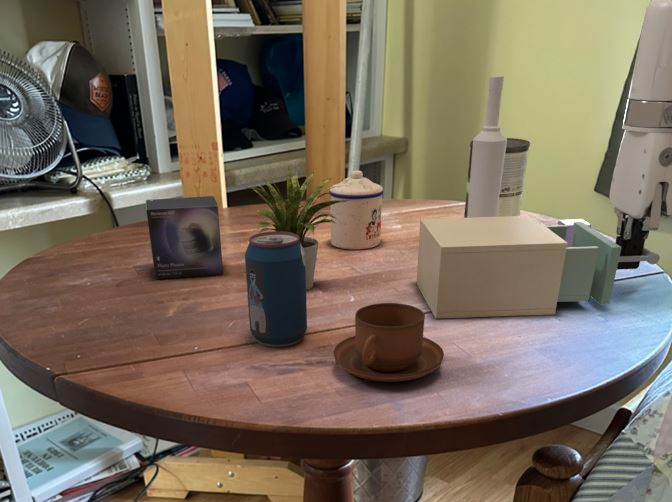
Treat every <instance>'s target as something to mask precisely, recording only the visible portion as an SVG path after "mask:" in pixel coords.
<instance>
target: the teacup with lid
mask: <svg viewBox="0 0 672 502" xmlns="http://www.w3.org/2000/svg"><path fill="white" fill-rule="evenodd" d="M349 175H350V177H346V178H344V179H343V180H341V181H340V182H339V183H336V184H333V185H332V186H331V187H334V186H340V187H334V188H330V187H329V188H330V189H329V191H328V193H332V194H329V195H330V201H334V200H351V201H346V202H340V203H336V204H333V205H330V214H334V213H337V214H334V215H332V216H334V217H335V218H337V219H338V220H337V219H335V218H333V217H330V220H333V221H334V222H335V223H333V222H330V243H331V245H332V246H334V247H336V248H339V249H343V250H367V249H372V248H374V247H377V246H378V245H380V243H381V240H382V239H381V234H382V208H383V207H382V205H383V204H382V203H383V194H384V189H383V186H382V185H380V184H378V183H375V182H373V181H371V180H370V179H369V178H367V177H364V176H363V171H361V170H351V172H350V174H349ZM336 223H337V224H336Z"/></svg>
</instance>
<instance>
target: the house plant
mask: <svg viewBox="0 0 672 502" xmlns="http://www.w3.org/2000/svg"><path fill="white" fill-rule="evenodd" d="M291 171H292V170H291V167H290V165H288V166H287V171H286V199H285V200H284V198H283V195H282V193H281V191H280V188H279V187H278V186H277V185H276V183H274V182H273V181H272V180H270V179H267V178H263V181H264V183H265V185H266V186H267V188H268V190H269V192H270V194H271V195H270V194H269V193H268V192H267V190H265V188H264V187H263V186H262V185H260V184H258V183H256V182H255V184H256V185H257V186H258V187H256V186H247V187H246V189H251V190H253V191H254V192H255V193H256V194H258V195H259V196H260V198H261V199H262V200H263V202H265V203H266V204H267V206H268V207H269V208H270V210H271V211H270V210H268V209H266V208H264V209H263V208H261V209H258V210H256V211H255V213H257V214H259V215H262V216H264V217H266V218H267V219H269V220H270V221H271V222H272V223H271V222H269V221H265V220H261V221H260V222H259V224H258V227H257V230H259V229H260V228H261V229H260V231H259V233H264V232H266V231H269V230H272V231H274V232H290V233H294V234H297V235H298V236H299V238H300V240H299V241H300V243H301V245H302V247H303V249H304V251H305V268H306V291H307V290H309V289H312V288H313V285H314V278H315V271H316V264H317V256H318V250H319V244H320V243H319V240H318V239H316V238H314V232H315V229H316V226H318V225H321V224H325V223H331V222H333V223H335V222H334V221H333V220H331V217H333V218H335V217H334V216H332V215H334V214H337V213H334V214H331V213H330V214H329V213H322V214H319V215H316V216H315V214H317V213H318V212H319V211H321V210H323V209H325V208H327V207H331V205H333V204H336V203H340V202H346V201H351V200H334V201H331V200H327V201H322V202H319V203H316V202H317V200H318V199H320V198H321V197H322V196H325V195H330V194H332V193H329V192H324V191H327V190H330V188H334V187H340V186H334V187H332V186H331V187H327V188H325V189H323V188H324V186H326V184H328V183H329V182H331V180H333V179H335V177H331V178H328V179H325V180H324V181H323V182H321V183H320V184H319V185H317V187H316V188H315V189H314V191H313V192H312V193H311V194H310V196H309V197H308V198H307V199H306V201H305V202H304V205H301V202H302V199H303V197H304V194H305V191H306V189H307V187H308V185H309V183H310V180H311V179H312V178H313V176H314V175H315V173H316V171H317V168H315V169H313V171H312V172H311V173H310V174H309V175H308V176H307V178H306V179H305V180H304V182H303V183H302V184H301V185H300V182H299V174H298V172H295V173H294V174H293V175H291V174H292V173H291ZM267 181H268V182H267ZM269 182H270V183H269ZM271 183H272V184H273V185H274V186H275V187H274V186H273V185H272V184H271ZM275 188H276V189H275ZM322 192H323V193H322ZM321 193H322V194H321ZM319 194H320V195H319ZM318 195H319V196H318ZM317 196H318V197H317ZM313 201H314V202H313ZM315 203H316V204H315ZM300 205H301V206H300ZM301 208H302V210H301V211H300V213H299V210H300V209H301ZM314 216H315V217H314ZM327 217H330V218H327ZM319 218H323V219H320V220H317V219H319ZM335 219H337V218H335ZM316 220H317V221H316ZM337 220H338V219H337ZM336 224H337V223H336ZM268 226H273V227H274V228H270V227H268ZM309 231H310V232H309ZM307 232H309V233H308V234H307ZM259 233H258V234H259ZM311 233H312V236H313V237H309V235H311ZM306 234H307V235H306Z"/></svg>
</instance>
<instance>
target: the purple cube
mask: <svg viewBox="0 0 672 502" xmlns="http://www.w3.org/2000/svg"><path fill="white" fill-rule="evenodd" d="M574 222H583V223H585V224H586V225H588V226H589V227H591V228H592V224H590V223H589V222H588V221H586V220H584V219H583V218H573V219H571V218H570V219H558V221H557V225H566V226H568V227H567V233H566V239H565V241H566V242H567V247H569V246H570V241H571V235H572V230H573V224H574Z"/></svg>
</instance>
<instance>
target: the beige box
mask: <svg viewBox="0 0 672 502" xmlns="http://www.w3.org/2000/svg"><path fill="white" fill-rule="evenodd" d="M545 226H546V225H544V224H543V223H541V222H540V221H539V220H537V219H536V218H535V217H534V216H532V215H520V216H505V217H473V218H464V217H447V218H446V217H444V218H420V220H419V235H418V238H419V239H418V252H417V266H416V268H417V269H416V281H415V282H416V286H417V287H418V289H419V291H420V293H421V294H422V296H423V298H424V301H425V302H426V304H427V306H428V308H429V309H430V312H431V313H432V314H433V317H434V318H435V319H436V320H437V319H465V318H493V317H495V318H496V317H518V316H521V317H522V316H523V317H524V316H545V315H548V316H549V315H551V316H552V315H556V312H557V311H556V310H557V306H558V302H557V300H558V294H559V289H560V283H561V277H562V272H563V266H564V260H565V254H566V249H567V242H566V241H564V240H563V239H562V238H560V237H559V236H558V235H556V234H555V233H554V232H552V231H551V230H550V229H548V228H547V227H545Z"/></svg>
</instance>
